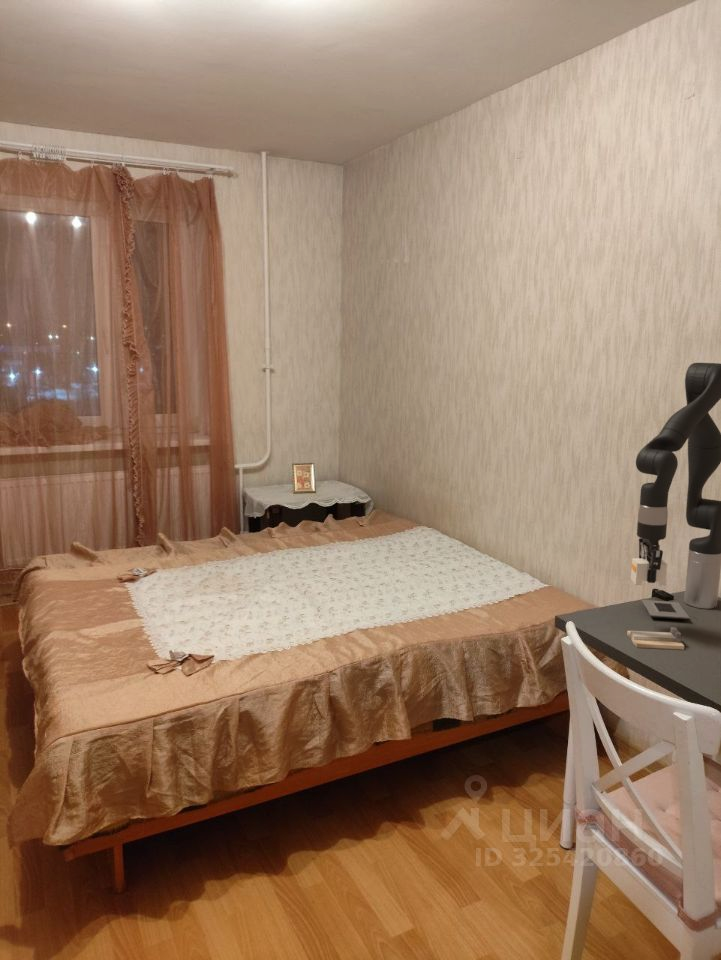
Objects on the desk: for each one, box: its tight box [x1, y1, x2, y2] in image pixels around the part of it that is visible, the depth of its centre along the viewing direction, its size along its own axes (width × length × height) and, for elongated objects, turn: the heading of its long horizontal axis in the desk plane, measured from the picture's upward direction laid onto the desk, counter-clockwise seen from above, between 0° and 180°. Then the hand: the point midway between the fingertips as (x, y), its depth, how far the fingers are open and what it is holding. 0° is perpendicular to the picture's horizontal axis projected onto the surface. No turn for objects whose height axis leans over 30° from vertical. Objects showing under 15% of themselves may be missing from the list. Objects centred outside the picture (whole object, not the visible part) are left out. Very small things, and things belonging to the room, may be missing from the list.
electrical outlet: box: [641, 599, 690, 621], centre depth 203 cm, size 13×10×2 cm
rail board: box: [626, 626, 685, 651], centre depth 182 cm, size 9×12×3 cm
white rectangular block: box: [630, 557, 668, 587], centre depth 191 cm, size 8×5×6 cm, turn 84°
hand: (648, 578), depth 191 cm, fingers closed on white rectangular block, 5 cm apart
